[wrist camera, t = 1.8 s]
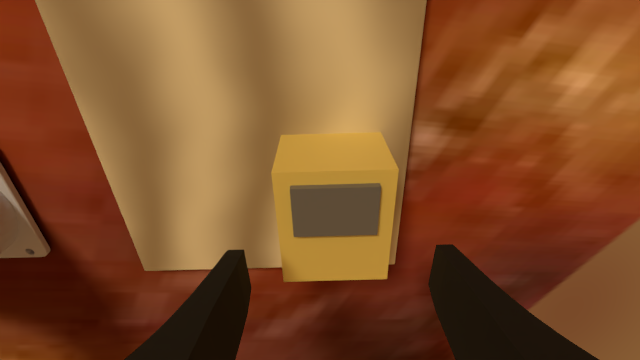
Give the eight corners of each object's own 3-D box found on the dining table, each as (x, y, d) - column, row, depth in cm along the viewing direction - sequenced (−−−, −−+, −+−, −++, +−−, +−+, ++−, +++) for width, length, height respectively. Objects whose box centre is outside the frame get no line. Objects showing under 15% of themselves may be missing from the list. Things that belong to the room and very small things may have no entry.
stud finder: (289, 229, 19) (283, 286, 15) (280, 134, 16) (270, 176, 12) (373, 227, 19) (388, 283, 15) (380, 132, 16) (400, 172, 12)
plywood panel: (152, 259, 21) (144, 270, 20) (-23, -196, 11) (-52, -213, 10) (391, 253, 21) (394, 264, 20) (443, -211, 11) (454, -229, 10)
